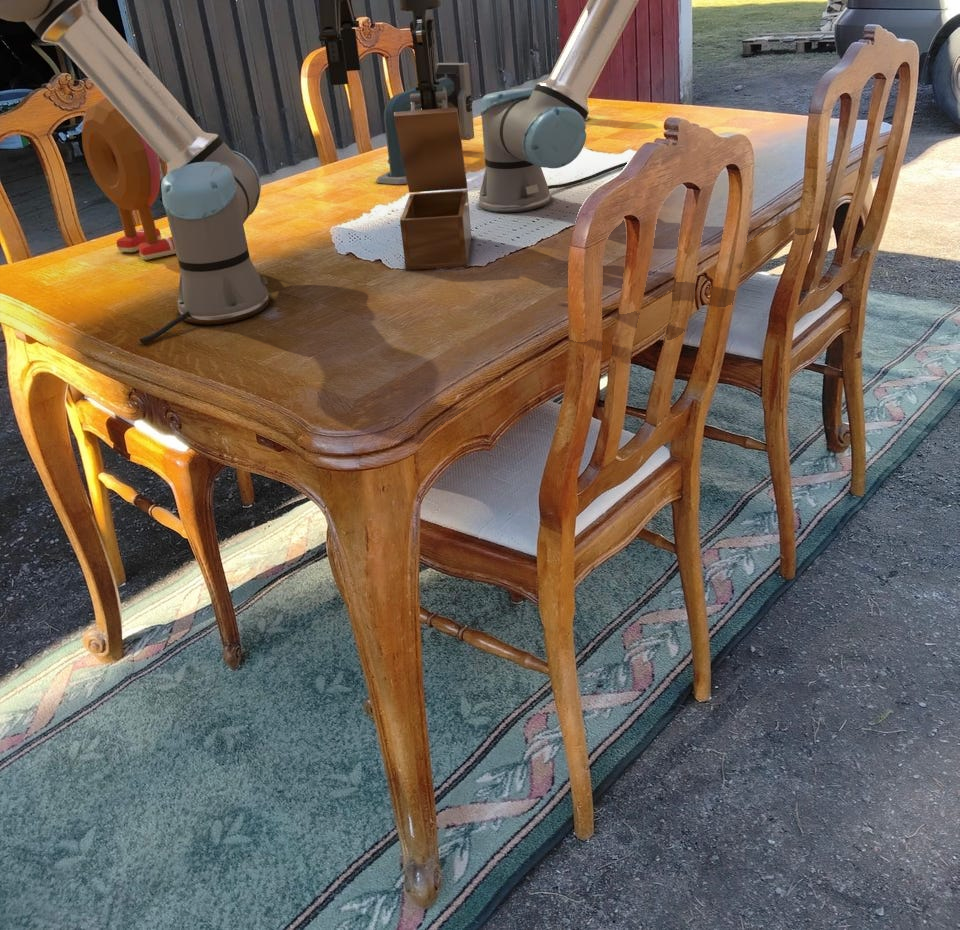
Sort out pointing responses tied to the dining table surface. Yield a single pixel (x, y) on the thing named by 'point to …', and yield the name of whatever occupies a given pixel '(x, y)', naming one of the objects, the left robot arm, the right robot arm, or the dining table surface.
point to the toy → (125, 176)
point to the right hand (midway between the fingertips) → (431, 125)
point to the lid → (431, 146)
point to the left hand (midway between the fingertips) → (346, 77)
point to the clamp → (458, 95)
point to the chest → (436, 230)
